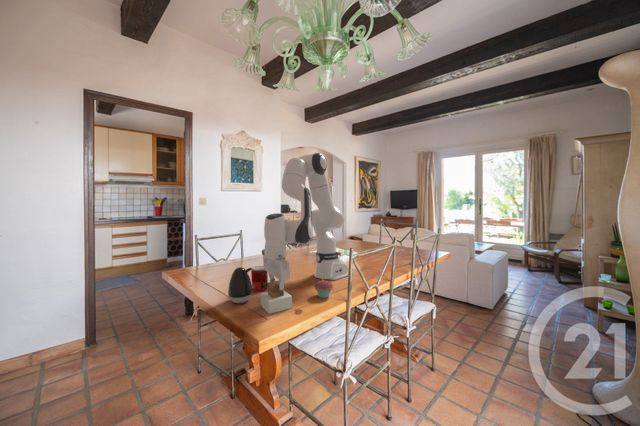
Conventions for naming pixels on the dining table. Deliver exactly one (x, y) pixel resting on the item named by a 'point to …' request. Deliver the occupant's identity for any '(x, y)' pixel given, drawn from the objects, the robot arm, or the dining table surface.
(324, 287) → the cupcake
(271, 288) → the walnut cube
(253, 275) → the canned food
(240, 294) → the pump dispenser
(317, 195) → the robot arm
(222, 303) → the dining table surface
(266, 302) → the pedestal
